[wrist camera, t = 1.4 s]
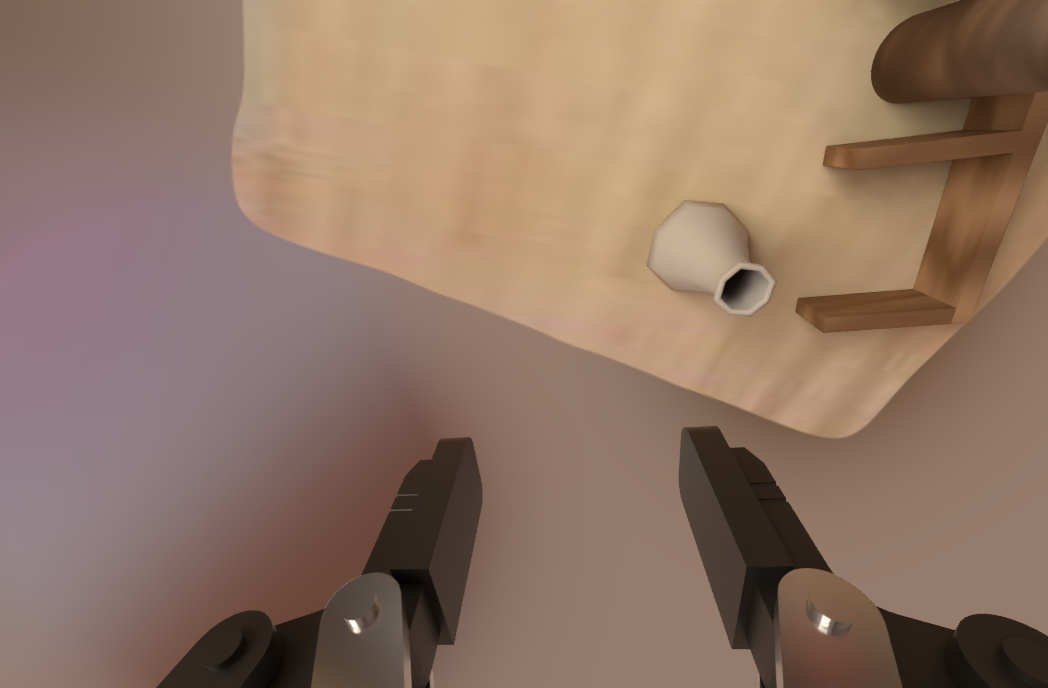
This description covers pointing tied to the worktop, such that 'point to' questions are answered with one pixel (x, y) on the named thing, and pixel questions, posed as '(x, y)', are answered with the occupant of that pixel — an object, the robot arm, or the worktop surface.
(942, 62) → the pepper mill
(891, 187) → the worktop surface
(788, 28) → the worktop surface
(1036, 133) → the rack
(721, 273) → the flask
